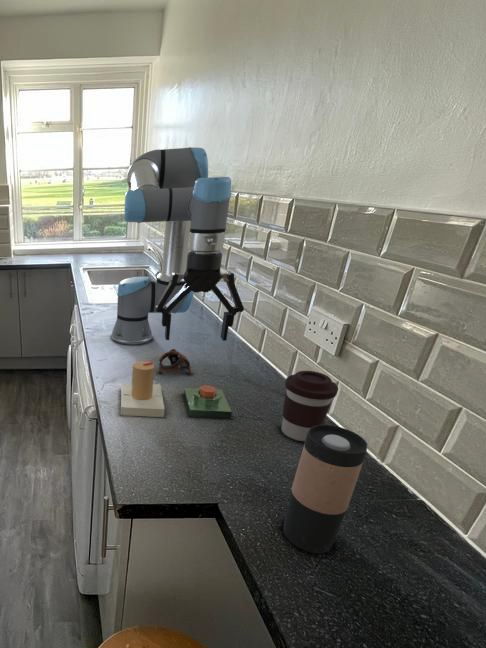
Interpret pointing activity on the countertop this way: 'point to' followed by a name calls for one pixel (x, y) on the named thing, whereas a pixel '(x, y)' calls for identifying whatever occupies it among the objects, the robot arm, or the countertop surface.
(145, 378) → the knob
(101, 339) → the countertop surface
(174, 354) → the brown arched frame
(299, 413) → the coffee cup
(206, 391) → the button
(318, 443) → the travel mug
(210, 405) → the button box
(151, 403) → the panel
